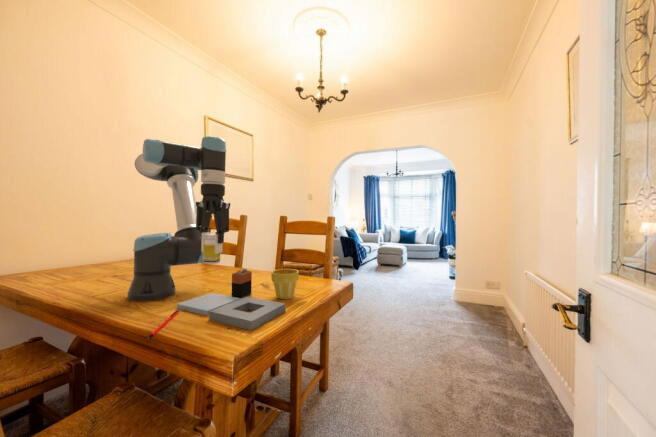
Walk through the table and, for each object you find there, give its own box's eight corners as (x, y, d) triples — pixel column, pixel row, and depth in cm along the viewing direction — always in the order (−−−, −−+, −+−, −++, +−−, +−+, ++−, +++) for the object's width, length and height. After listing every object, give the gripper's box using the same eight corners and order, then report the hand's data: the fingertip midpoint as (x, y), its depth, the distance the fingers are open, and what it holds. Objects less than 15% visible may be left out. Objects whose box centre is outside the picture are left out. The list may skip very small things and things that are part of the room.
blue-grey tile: (177, 308, 86) (177, 303, 86) (211, 296, 99) (211, 292, 99) (207, 315, 81) (207, 310, 81) (240, 302, 93) (240, 298, 93)
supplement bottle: (221, 263, 89) (222, 235, 89) (204, 265, 86) (204, 235, 86) (218, 261, 94) (219, 233, 93) (201, 262, 91) (202, 233, 90)
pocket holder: (209, 319, 78) (209, 311, 77) (247, 303, 92) (247, 296, 92) (251, 330, 71) (251, 321, 71) (285, 311, 85) (285, 303, 85)
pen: (180, 312, 84) (180, 308, 84) (150, 340, 65) (150, 335, 65) (177, 312, 84) (177, 309, 84) (146, 340, 65) (146, 336, 65)
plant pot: (266, 295, 102) (266, 270, 102) (289, 291, 108) (290, 267, 108) (279, 302, 94) (279, 275, 94) (303, 297, 100) (303, 271, 100)
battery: (251, 294, 103) (252, 268, 103) (240, 299, 97) (240, 272, 97) (242, 293, 105) (243, 267, 105) (230, 297, 98) (231, 271, 98)
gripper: (184, 183, 90) (183, 251, 90) (225, 182, 82) (223, 256, 83) (203, 185, 96) (201, 248, 97) (242, 184, 89) (240, 253, 89)
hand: (211, 251), depth 90 cm, fingers closed on supplement bottle, 5 cm apart
